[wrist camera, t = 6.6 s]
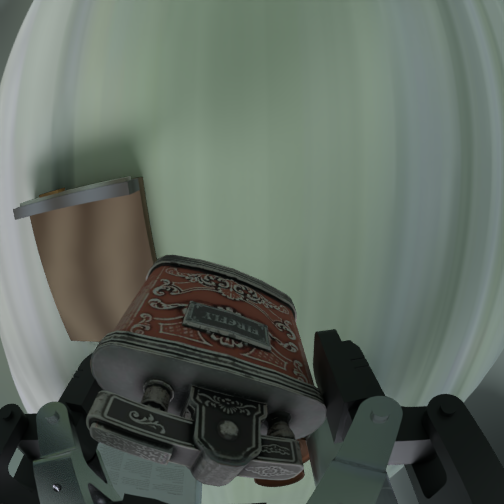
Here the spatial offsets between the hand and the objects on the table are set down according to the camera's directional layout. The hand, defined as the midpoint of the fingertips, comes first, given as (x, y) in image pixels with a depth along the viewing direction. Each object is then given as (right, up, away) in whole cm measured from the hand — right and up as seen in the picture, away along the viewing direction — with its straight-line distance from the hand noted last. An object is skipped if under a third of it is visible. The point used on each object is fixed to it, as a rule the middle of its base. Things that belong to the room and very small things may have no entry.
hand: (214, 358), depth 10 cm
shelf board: (-14, +2, +15) cm, 21 cm away
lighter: (0, +2, +5) cm, 5 cm away
